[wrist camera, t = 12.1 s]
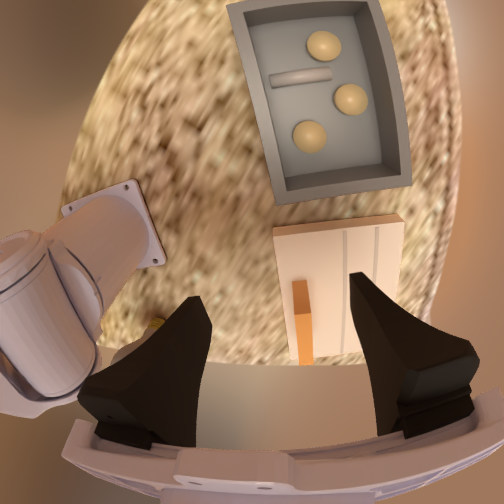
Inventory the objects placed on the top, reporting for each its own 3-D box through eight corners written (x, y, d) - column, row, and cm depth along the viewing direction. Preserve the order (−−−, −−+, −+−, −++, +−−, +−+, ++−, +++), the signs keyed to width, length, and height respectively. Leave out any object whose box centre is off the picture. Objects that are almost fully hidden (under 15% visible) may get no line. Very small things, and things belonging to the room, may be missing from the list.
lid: (290, 348, 29) (291, 391, 24) (272, 227, 22) (271, 266, 17) (382, 336, 27) (395, 375, 22) (397, 213, 20) (427, 246, 15)
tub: (275, 187, 20) (276, 206, 17) (235, 23, 14) (225, 5, 11) (389, 170, 19) (412, 185, 15) (358, 9, 13) (375, -8, 9)
